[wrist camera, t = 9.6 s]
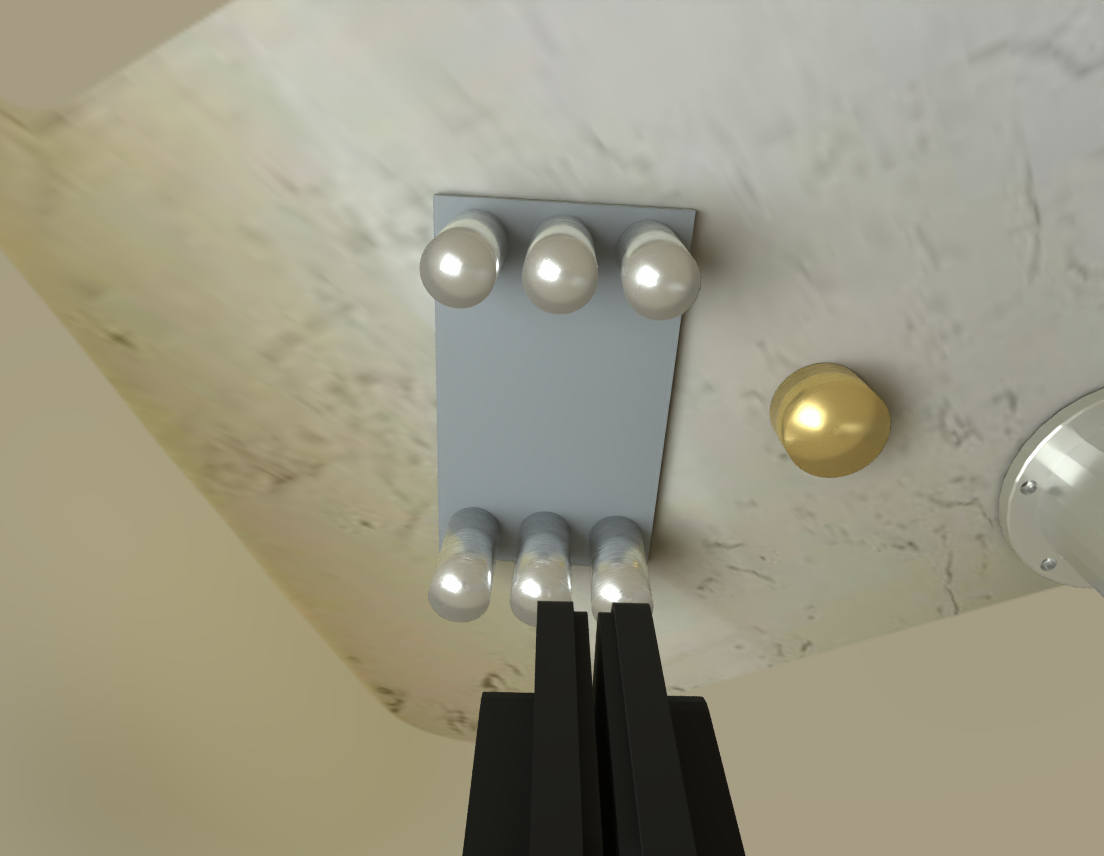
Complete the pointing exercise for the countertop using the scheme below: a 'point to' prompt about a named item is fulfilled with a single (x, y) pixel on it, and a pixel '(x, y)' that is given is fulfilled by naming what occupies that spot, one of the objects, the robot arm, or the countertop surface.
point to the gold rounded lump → (829, 420)
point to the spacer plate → (553, 386)
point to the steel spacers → (559, 288)
